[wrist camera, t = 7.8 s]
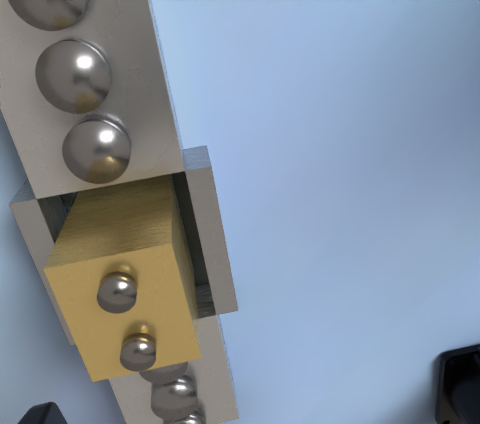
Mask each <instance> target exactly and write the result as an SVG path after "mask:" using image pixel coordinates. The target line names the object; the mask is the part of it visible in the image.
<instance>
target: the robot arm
mask: <svg viewBox="0 0 480 424" xmlns="http://www.w3.org/2000/svg"><path fill="white" fill-rule="evenodd" d="M436 422H437V424H480V345H475V346H471V347H466V348H462V349H457V350H453V351H449V352H446V353H445V354H444V355H443V356H442V358H441V367H440V378H439V388H438V399H437V409H436ZM18 424H67V422H66V420H65V418H64V417H63V415H62V413H61V411H60V409H59V408H58V406H57V404H56V403H54V402H48V403H44V404H39V405H35V406H33V407H32V408H30V409H29V410H28V411H27V413H26V414H25V415H24V416H23V418H22V419H21V420H20V421H19V422H18Z"/></svg>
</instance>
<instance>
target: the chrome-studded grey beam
mask: <svg viewBox="0 0 480 424" xmlns="http://www.w3.org/2000/svg"><path fill="white" fill-rule="evenodd" d="M0 109H1V112H2V114H3V117H4V119H5V122H6V124H7V127H8V129H9V132H10V134H11V137H12V139H13V142H14V144H15V147H16V149H17V152H18V154H19V157H20V159H21V162H22V164H23V167H24V169H25V172H26V174H27V177H28V179H27V181H26V182H25V183H24V185H23V186H22V187H21V189H20V190H19V191H18V193H17V194H16V195H15V197H14V198H13V199H12V201H11V202H10V203H9V206H10V208H11V211H12V213H13V215H14V218H15V220H16V222H17V224H18V227H19V229H20V231H21V234H22V236H23V238H24V241H25V243H26V245H27V247H28V250H29V252H30V254H31V257H32V259H33V261H34V263H35V266H36V268H37V270H38V273H39V275H40V277H41V280H42V282H43V284H44V286H45V289H46V291H47V293H48V296H49V298H50V300H51V303H52V305H53V307H54V309H55V312H56V314H57V316H58V319H59V321H60V323H61V326H62V328H63V330H64V332H65V335H66V337H67V339H68V342H69V344H70V346H72V345H76V343H75V341H74V339H73V336H72V334H71V332H70V329H69V327H68V325H67V323H66V320H65V318H64V316H63V313H62V311H61V309H60V306H59V304H58V302H57V300H56V297H55V295H54V293H53V290H52V288H51V286H50V283H49V281H48V279H47V277H46V274H45V272H44V270H43V269H44V267H45V264H46V262H47V260H48V258H49V256H50V253H51V251H52V249H53V247H54V245H55V242H56V240H57V238H58V236H59V234H60V231H61V229H62V227H63V225H64V223H65V220H66V218H67V216H68V215H67V212H66V209H65V207H64V204H63V201H62V198H61V196H60V195H61V194H66V193H71V192H77V191H82V190H87V189H93V188H98V187H103V186H108V185H114V184H119V183H124V182H130V181H135V180H140V179H146V178H151V177H156V176H161V175H167V174H172V173H177V172H183V171H185V173H186V178H187V182H188V187H189V192H190V196H191V201H192V205H193V210H194V215H195V219H196V224H197V228H198V233H199V237H200V242H201V247H202V251H203V256H204V260H205V265H206V270H207V274H208V279H209V283H206V284H202V285H197V286H195V289H196V300H197V311H198V323H199V334H200V345H201V356H202V358H200V359H196V360H191V361H187V362H182V363H178V364H173V365H169V366H164V367H159V368H155V369H150V370H146V371H141V372H137V373H132V374H128V375H123V376H119V377H114V378H109V382H110V384H111V387H112V389H113V392H114V394H115V397H116V399H117V402H118V404H119V407H120V409H121V412H122V414H123V417H124V419H125V422H126V424H217V423H222V422H226V421H231V420H235V419H239V416H238V410H237V403H236V397H235V391H234V385H233V380H232V375H231V370H230V366H229V361H228V356H227V352H226V347H225V342H224V338H223V333H222V328H221V324H220V319H219V314H224V313H229V312H234V311H238V306H237V300H236V295H235V290H234V284H233V279H232V274H231V268H230V263H229V258H228V252H227V247H226V242H225V236H224V231H223V226H222V220H221V215H220V209H219V204H218V199H217V193H216V188H215V183H214V177H213V172H212V167H211V162H210V158H209V154H208V150H207V146H201V147H195V148H190V149H185V150H183V147H182V142H181V138H180V133H179V128H178V124H177V119H176V114H175V110H174V105H173V100H172V96H171V91H170V86H169V82H168V77H167V72H166V68H165V63H164V58H163V54H162V49H161V44H160V40H159V35H158V31H157V26H156V21H155V17H154V12H153V7H152V3H151V0H0Z"/></svg>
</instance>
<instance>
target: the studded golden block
mask: <svg viewBox="0 0 480 424" xmlns="http://www.w3.org/2000/svg"><path fill="white" fill-rule="evenodd" d="M43 270H44V272H45V274H46V277H47V279H48V281H49V283H50V286H51V288H52V290H53V293H54V295H55V297H56V300H57V302H58V304H59V306H60V309H61V311H62V313H63V316H64V318H65V320H66V323H67V325H68V327H69V329H70V332H71V334H72V336H73V339H74V341H75V343H76V345H77V348H78V350H79V352H80V355H81V357H82V359H83V362H84V364H85V366H86V368H87V371H88V373H89V375H90V378H91V380H92V382H96V381H100V380H105V379H109V378H114V377H119V376H123V375H128V374H132V373H137V372H141V371H146V370H150V369H155V368H159V367H164V366H169V365H173V364H178V363H182V362H187V361H191V360H196V359H200V358H202V356H201V345H200V334H199V323H198V311H197V300H196V289H195V278H194V267H193V263H192V259H191V255H190V251H189V246H188V242H187V238H186V234H185V230H184V226H183V222H182V217H181V213H180V209H179V205H178V201H177V197H176V193H175V188H174V184H173V180H172V176H171V174H167V175H161V176H156V177H151V178H146V179H140V180H135V181H130V182H124V183H119V184H114V185H109V186H104V187H99V188H93V189H88V190H83V191H79V192H78V194H77V196H76V198H75V200H74V203H73V205H72V207H71V209H70V211H69V214H68V216H67V218H66V220H65V223H64V225H63V227H62V229H61V231H60V234H59V236H58V238H57V240H56V242H55V245H54V247H53V249H52V251H51V253H50V256H49V258H48V260H47V262H46V264H45V267H44V269H43Z"/></svg>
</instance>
